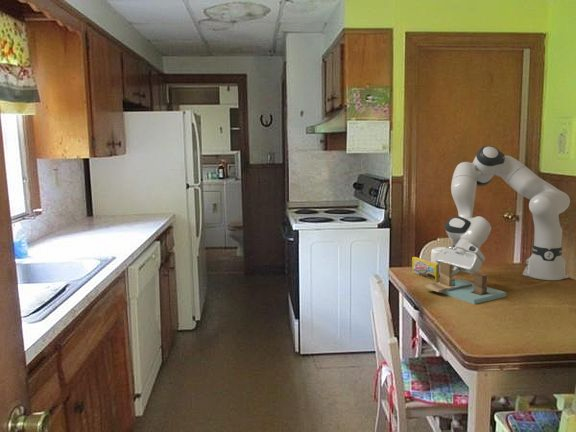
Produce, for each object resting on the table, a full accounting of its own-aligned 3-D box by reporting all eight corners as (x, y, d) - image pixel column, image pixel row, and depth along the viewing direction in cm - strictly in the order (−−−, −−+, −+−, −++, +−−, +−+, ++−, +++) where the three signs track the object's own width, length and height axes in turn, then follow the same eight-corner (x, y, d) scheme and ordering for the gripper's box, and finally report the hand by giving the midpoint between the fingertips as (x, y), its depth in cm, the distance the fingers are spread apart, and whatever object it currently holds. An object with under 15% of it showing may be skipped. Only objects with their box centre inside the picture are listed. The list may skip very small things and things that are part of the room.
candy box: (411, 274, 240) (411, 257, 239) (414, 273, 241) (415, 256, 240) (435, 282, 226) (436, 264, 225) (439, 281, 227) (440, 263, 226)
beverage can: (436, 270, 246) (437, 246, 244) (451, 273, 240) (452, 248, 238) (427, 273, 240) (427, 248, 239) (442, 276, 234) (443, 251, 233)
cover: (439, 284, 214) (440, 261, 212) (454, 288, 207) (455, 265, 205) (423, 287, 210) (424, 264, 208) (438, 292, 203) (438, 268, 201)
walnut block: (478, 294, 204) (479, 273, 203) (486, 297, 201) (487, 274, 200) (473, 296, 202) (474, 274, 201) (481, 298, 199) (482, 276, 198)
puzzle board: (460, 284, 222) (460, 277, 221) (505, 298, 202) (506, 290, 201) (429, 291, 213) (430, 283, 212) (474, 306, 193) (474, 297, 193)
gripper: (443, 241, 221) (425, 266, 218) (481, 249, 203) (463, 277, 200) (450, 250, 224) (433, 274, 221) (488, 259, 206) (470, 286, 203)
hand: (447, 276), depth 210 cm, fingers closed
